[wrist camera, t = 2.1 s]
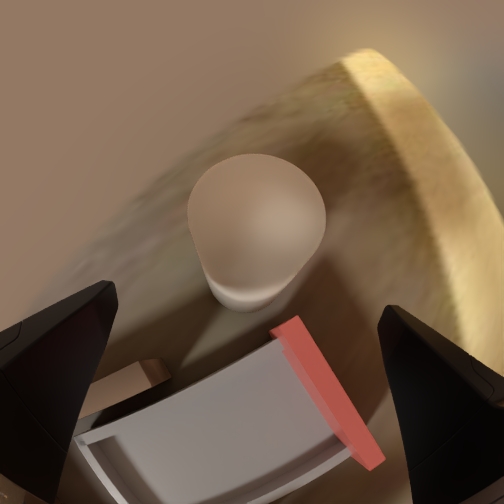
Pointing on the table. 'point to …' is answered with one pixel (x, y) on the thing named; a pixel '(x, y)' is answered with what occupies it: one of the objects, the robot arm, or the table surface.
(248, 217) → the canister
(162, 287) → the table surface
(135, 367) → the slot
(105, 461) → the tray
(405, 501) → the table surface
